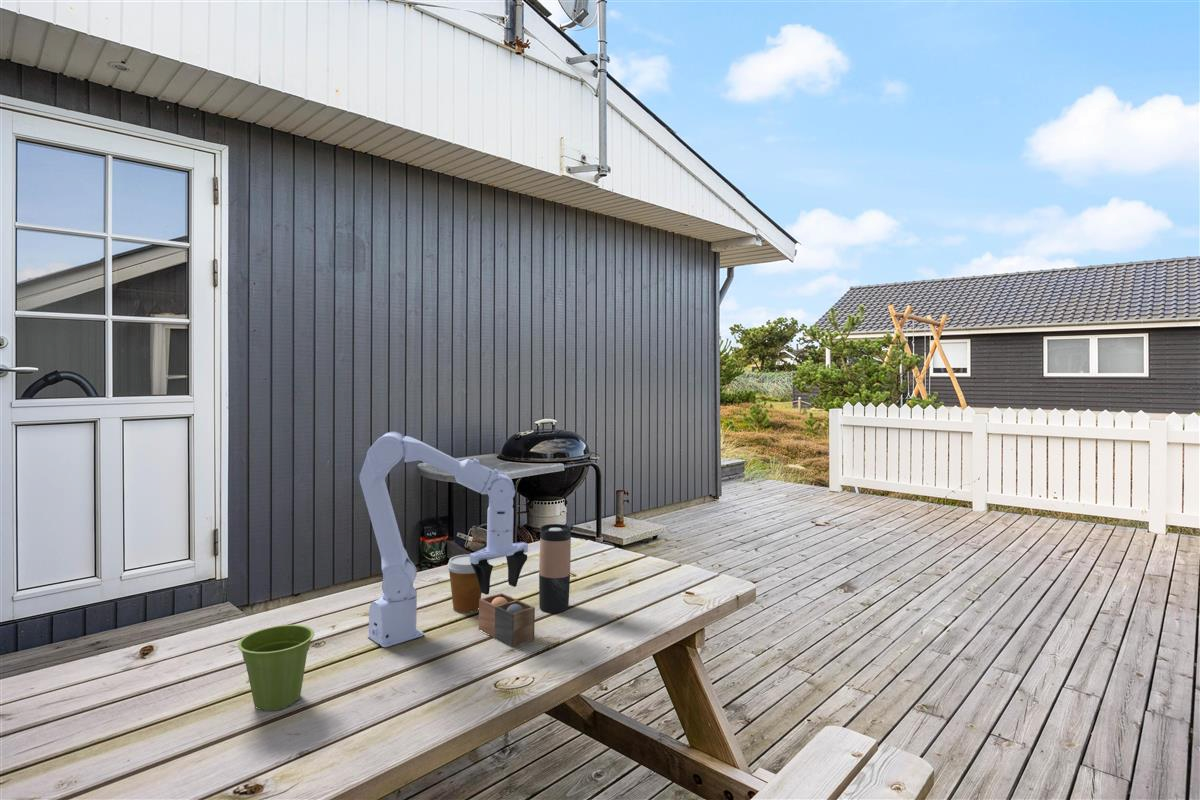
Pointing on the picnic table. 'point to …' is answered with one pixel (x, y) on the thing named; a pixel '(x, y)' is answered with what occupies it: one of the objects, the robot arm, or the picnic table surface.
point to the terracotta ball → (499, 601)
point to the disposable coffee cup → (463, 584)
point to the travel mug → (554, 568)
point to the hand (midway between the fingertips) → (499, 589)
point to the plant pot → (276, 664)
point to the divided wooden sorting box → (507, 620)
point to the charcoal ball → (514, 608)
